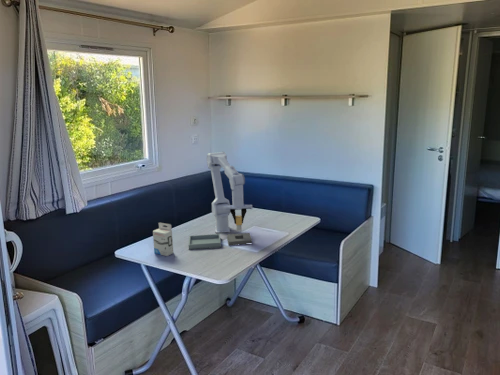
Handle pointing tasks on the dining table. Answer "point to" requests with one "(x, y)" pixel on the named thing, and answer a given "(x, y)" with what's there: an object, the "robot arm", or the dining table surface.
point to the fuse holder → (239, 238)
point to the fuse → (238, 223)
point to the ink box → (163, 240)
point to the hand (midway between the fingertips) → (238, 223)
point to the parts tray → (204, 241)
